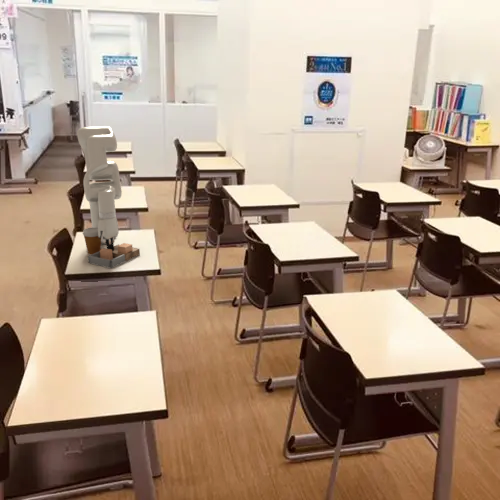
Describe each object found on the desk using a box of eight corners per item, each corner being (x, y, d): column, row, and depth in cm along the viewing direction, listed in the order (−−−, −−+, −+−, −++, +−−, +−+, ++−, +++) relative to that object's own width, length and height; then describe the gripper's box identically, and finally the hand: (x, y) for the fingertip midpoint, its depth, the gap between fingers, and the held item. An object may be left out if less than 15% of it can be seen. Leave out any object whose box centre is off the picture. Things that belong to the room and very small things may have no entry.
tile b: (124, 248, 270) (124, 243, 269) (132, 250, 267) (132, 244, 266) (117, 251, 265) (117, 245, 264) (125, 253, 263) (125, 247, 262)
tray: (102, 256, 267) (102, 249, 266) (125, 261, 261) (124, 254, 260) (88, 262, 259) (87, 256, 258) (111, 268, 253) (110, 261, 252)
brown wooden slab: (118, 249, 277) (118, 244, 276) (139, 254, 271) (139, 248, 270) (104, 256, 267) (103, 250, 266) (125, 261, 262) (125, 255, 261)
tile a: (103, 247, 263) (99, 249, 261) (112, 249, 261) (107, 251, 259) (104, 257, 265) (100, 259, 262) (112, 259, 263) (108, 261, 260)
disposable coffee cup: (98, 256, 267) (96, 233, 263) (81, 255, 269) (78, 232, 265) (107, 250, 276) (105, 227, 272) (90, 248, 278) (88, 226, 274)
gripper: (111, 210, 267) (114, 245, 273) (90, 217, 254) (94, 254, 260) (123, 212, 263) (126, 247, 270) (102, 219, 251) (106, 256, 257)
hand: (110, 250), depth 265 cm, fingers closed
